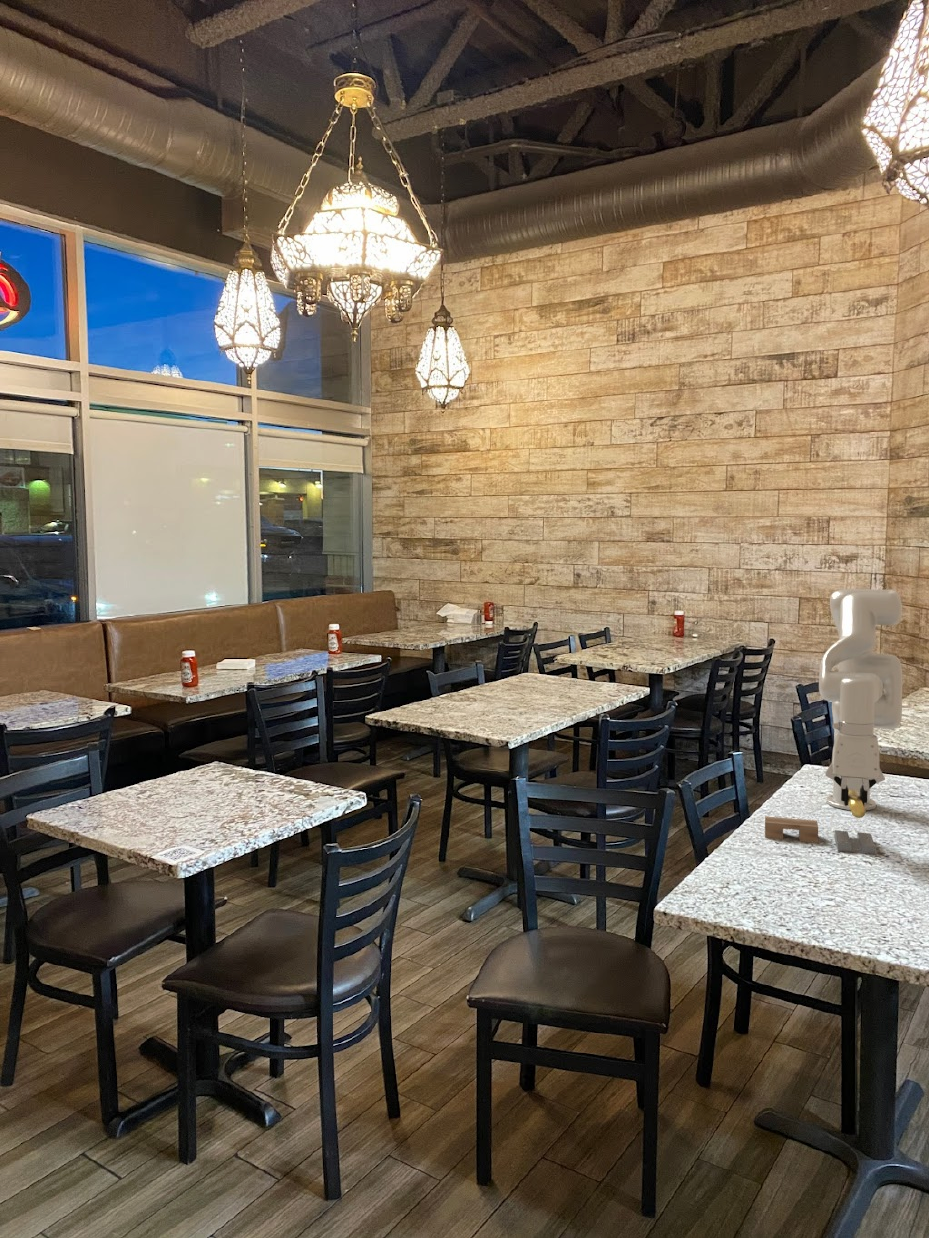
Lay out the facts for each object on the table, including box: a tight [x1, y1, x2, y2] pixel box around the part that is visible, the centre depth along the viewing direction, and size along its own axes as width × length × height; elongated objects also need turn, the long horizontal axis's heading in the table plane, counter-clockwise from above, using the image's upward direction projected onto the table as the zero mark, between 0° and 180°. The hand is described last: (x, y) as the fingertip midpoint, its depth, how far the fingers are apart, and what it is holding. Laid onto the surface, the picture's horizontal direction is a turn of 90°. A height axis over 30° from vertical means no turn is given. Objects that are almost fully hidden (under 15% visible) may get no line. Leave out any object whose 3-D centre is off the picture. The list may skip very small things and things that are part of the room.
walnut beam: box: [764, 815, 819, 843], centre depth 214 cm, size 5×12×5 cm, turn 72°
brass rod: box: [848, 789, 867, 819], centre depth 207 cm, size 14×3×3 cm, turn 162°
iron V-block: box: [833, 829, 877, 856], centre depth 207 cm, size 10×8×3 cm
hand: (853, 804), depth 210 cm, fingers closed on brass rod, 3 cm apart
